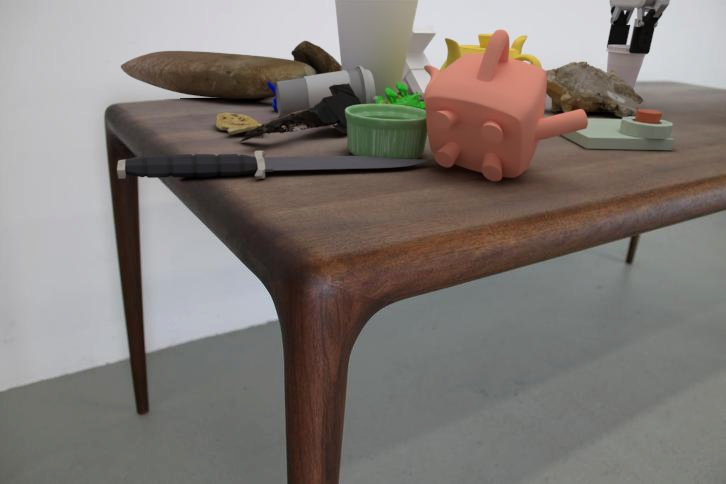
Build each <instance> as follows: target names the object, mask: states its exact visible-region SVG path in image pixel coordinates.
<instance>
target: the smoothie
mask: <svg viewBox="0 0 726 484" xmlns="http://www.w3.org/2000/svg"><path fill="white" fill-rule="evenodd" d="M633 22H634V23H633V27H632V31H631V37H630V42H629V44H626V45H608V47H607V46H606V52H607V62H606V63H607V64H606V73H610V72H611V71H612V70H614V71H616V72H617V74H618V76H619V77H620V79H621V80H624V81H625V82H626V83H627V84H628V85H630V86H631V87H632V88H633V89H635V86H636V82H637V79H638V77H639V74H640V71H641V68H642V66H643V62H644V59H645V56H646V54H637V53H630V52H629V49H630V44H631V39H632V34H633V30H634V26H635V27H638V26H637V18H634V21H633Z"/></svg>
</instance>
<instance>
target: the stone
mask: <svg viewBox="0 0 726 484" xmlns="http://www.w3.org/2000/svg"><path fill="white" fill-rule="evenodd" d="M120 68H121V70H122V71H123V72H124V73H125V74H126V75H128V76H129V77H130V78H132V79H135V80H137V81H139V82H142V83H145V84H147V85H151V86H154V87H156V88H159V89H163V90H167V91H170V92H174V93H178V94H183V95H187V96H194V97H202V98H211V99H212V98H213V99H224V100H225V99H226V100H259V99H267V98H276V96H275V95H274V93H273V92H272V90H271V89H270V87H269V86H268V81H269V82H270V83H271V84H273V85H274V86H275V87H276V82H278V81H285V80H292V79H298V78H303V77H304V76H311V75H317V73H316V71H315V69H313V68H312V67H311V66H309V65H307V64H305V63H303V62H299V61H294V59H289V58H281V57H280V58H279V57H272V56H261V55H253V54H252V55H250V54H242V53H241V54H240V53H239V54H238V53H226V52H225V53H224V52H214V51H213V52H212V51H195V50H194V51H193V50H162V51H161V50H160V51H154V52H149V53H146V54H143V55H139V56H137V57H133V58H131V59H130V60H127V61H126V62H124V63H122V64H121V65H120Z"/></svg>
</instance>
